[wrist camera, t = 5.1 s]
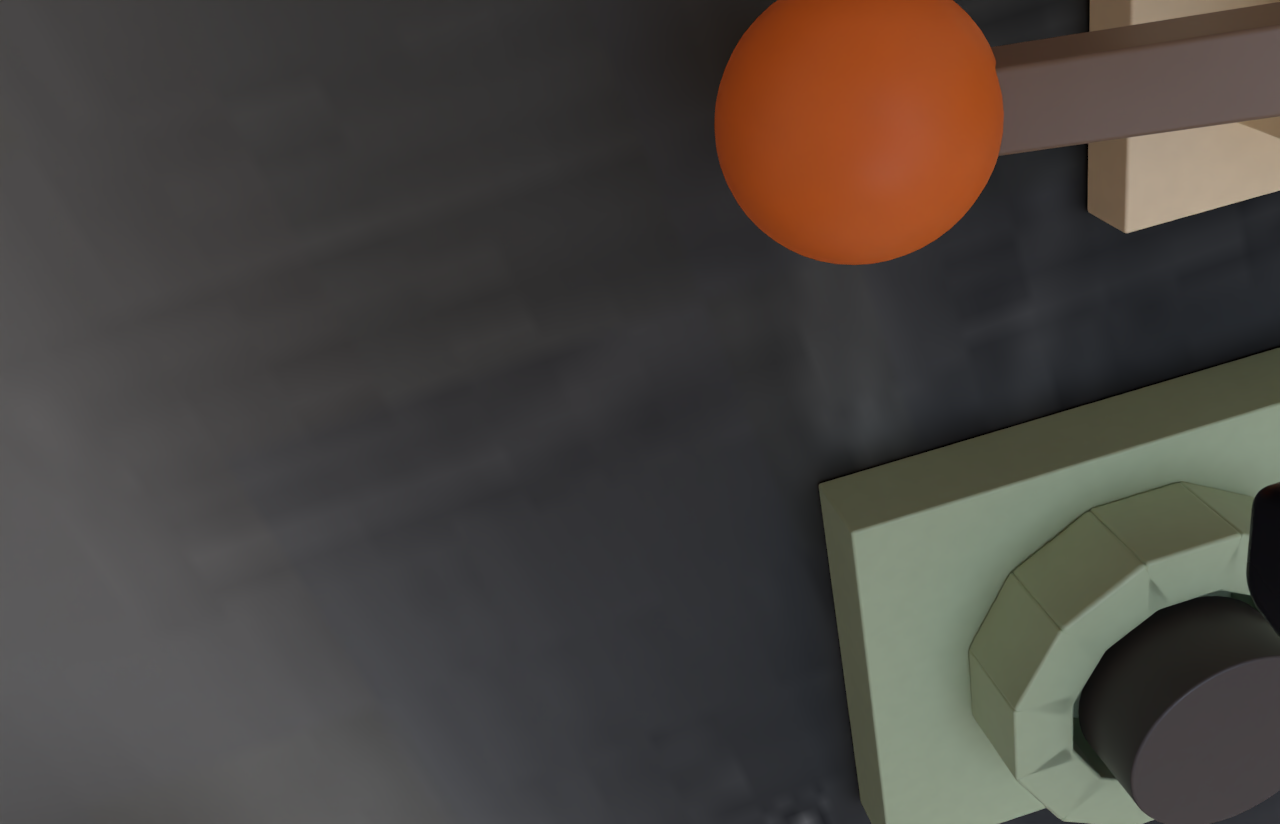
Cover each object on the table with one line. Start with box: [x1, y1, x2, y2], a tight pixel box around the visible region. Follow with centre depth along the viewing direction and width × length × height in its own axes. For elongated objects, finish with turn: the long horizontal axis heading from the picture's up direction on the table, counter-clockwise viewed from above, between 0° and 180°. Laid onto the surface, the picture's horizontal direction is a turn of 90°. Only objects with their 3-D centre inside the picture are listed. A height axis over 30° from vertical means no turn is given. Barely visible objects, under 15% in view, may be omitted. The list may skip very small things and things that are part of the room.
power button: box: [1078, 596, 1280, 824], centre depth 21 cm, size 4×4×2 cm
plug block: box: [819, 347, 1280, 824], centre depth 23 cm, size 11×9×4 cm
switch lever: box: [714, 0, 1280, 265], centre depth 14 cm, size 13×4×4 cm, turn 101°
